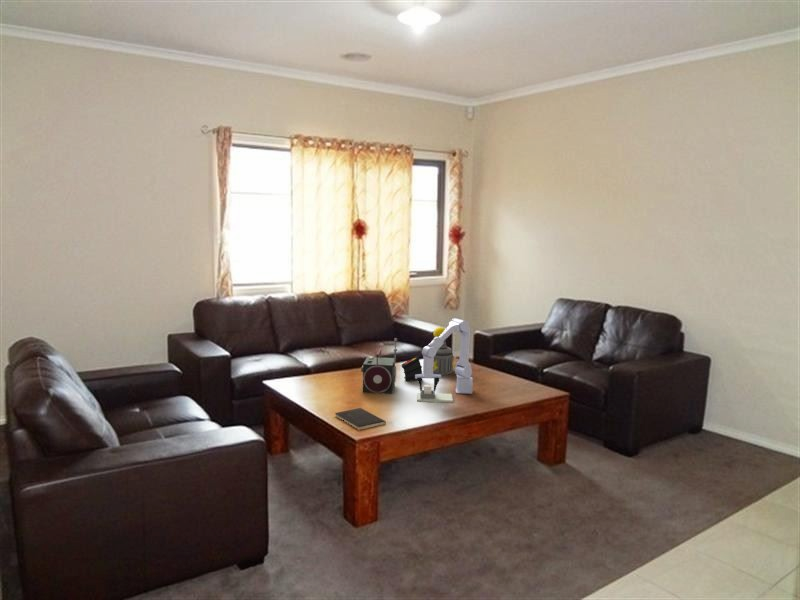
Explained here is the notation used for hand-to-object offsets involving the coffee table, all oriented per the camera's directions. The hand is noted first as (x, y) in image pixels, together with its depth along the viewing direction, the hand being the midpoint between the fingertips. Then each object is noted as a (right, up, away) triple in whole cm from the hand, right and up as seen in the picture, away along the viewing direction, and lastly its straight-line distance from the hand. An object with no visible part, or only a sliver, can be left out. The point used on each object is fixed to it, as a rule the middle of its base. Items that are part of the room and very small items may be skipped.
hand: (427, 390), depth 336 cm
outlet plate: (+4, -4, +1) cm, 6 cm away
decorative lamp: (+10, +4, +57) cm, 58 cm away
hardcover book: (-36, -10, -36) cm, 52 cm away
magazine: (-8, +1, +34) cm, 35 cm away
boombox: (-28, -2, +16) cm, 32 cm away
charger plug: (0, -3, +1) cm, 3 cm away
